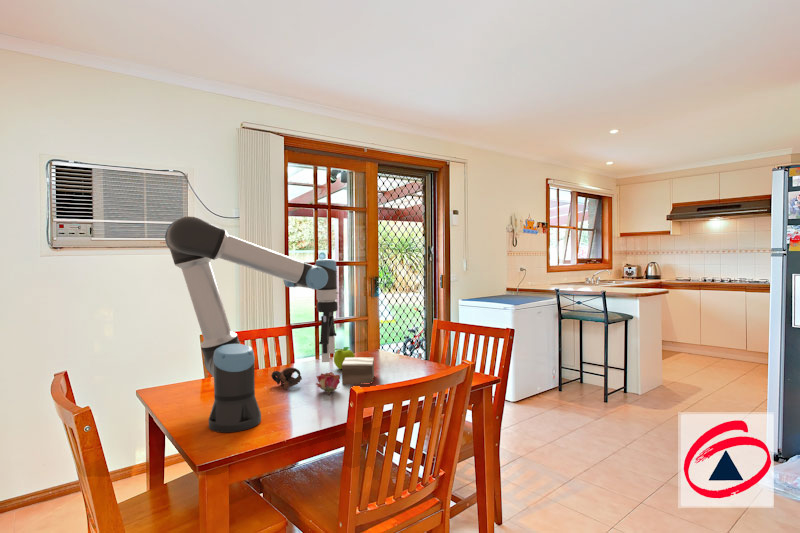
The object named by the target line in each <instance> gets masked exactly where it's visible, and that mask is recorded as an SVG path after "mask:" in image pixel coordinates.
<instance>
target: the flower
mask: <svg viewBox="0 0 800 533" xmlns="http://www.w3.org/2000/svg"><path fill="white" fill-rule="evenodd" d="M316 379H317V382H316V383H315V385H316V386H317V388H320V389H321V390H323V391H324V392H326V393H327V396H330V393H335V392H336V391H337V390H338V389H339V387H338V386H339V384H340V383H341V382H340V380H341V375H340V374H335V373H334V372H332V371H331V372H326V373H321V374H319V375H316Z"/></svg>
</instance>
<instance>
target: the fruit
mask: <svg viewBox="0 0 800 533" xmlns="http://www.w3.org/2000/svg"><path fill="white" fill-rule="evenodd" d="M333 355H334V356H333V363H334V365H335V366H336V367H337V369H339V370H341V369H342V364H343V362H344V360H345V358H354V357H355V356H356V355H355V353H354V352H353V351H352V350H350V346H343V348H335V353H333Z"/></svg>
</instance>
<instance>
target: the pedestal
mask: <svg viewBox="0 0 800 533" xmlns="http://www.w3.org/2000/svg"><path fill="white" fill-rule="evenodd" d="M373 378H374V379H375V357H373V356H369V357H366V356H365V357H363V356H362V357H354V358H345V360H344V362H343V364H342V370H341V382H342V383H341V384H350V385H351V386H352V385H353V384H355V385H362V384H361V383H371V382H373V383H374V379H373Z"/></svg>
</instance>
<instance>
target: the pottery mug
mask: <svg viewBox="0 0 800 533" xmlns="http://www.w3.org/2000/svg"><path fill="white" fill-rule="evenodd" d="M295 373H297V377H293V376H292V375H293V374H295ZM270 376H271V378H272V380H273V381H274V382H276V385H278V386H279V385H283V386H282V389H284V390H286V391H287V390H288V389H289V388H291V387H294V386H297V385H299V383H300V382H301V380H303V378H302V376H301V371H300V370H299V369H297V368H296V367H286V368H284V369H283V370H282V371H278V370H274V371H272V373H271V375H270Z"/></svg>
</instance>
